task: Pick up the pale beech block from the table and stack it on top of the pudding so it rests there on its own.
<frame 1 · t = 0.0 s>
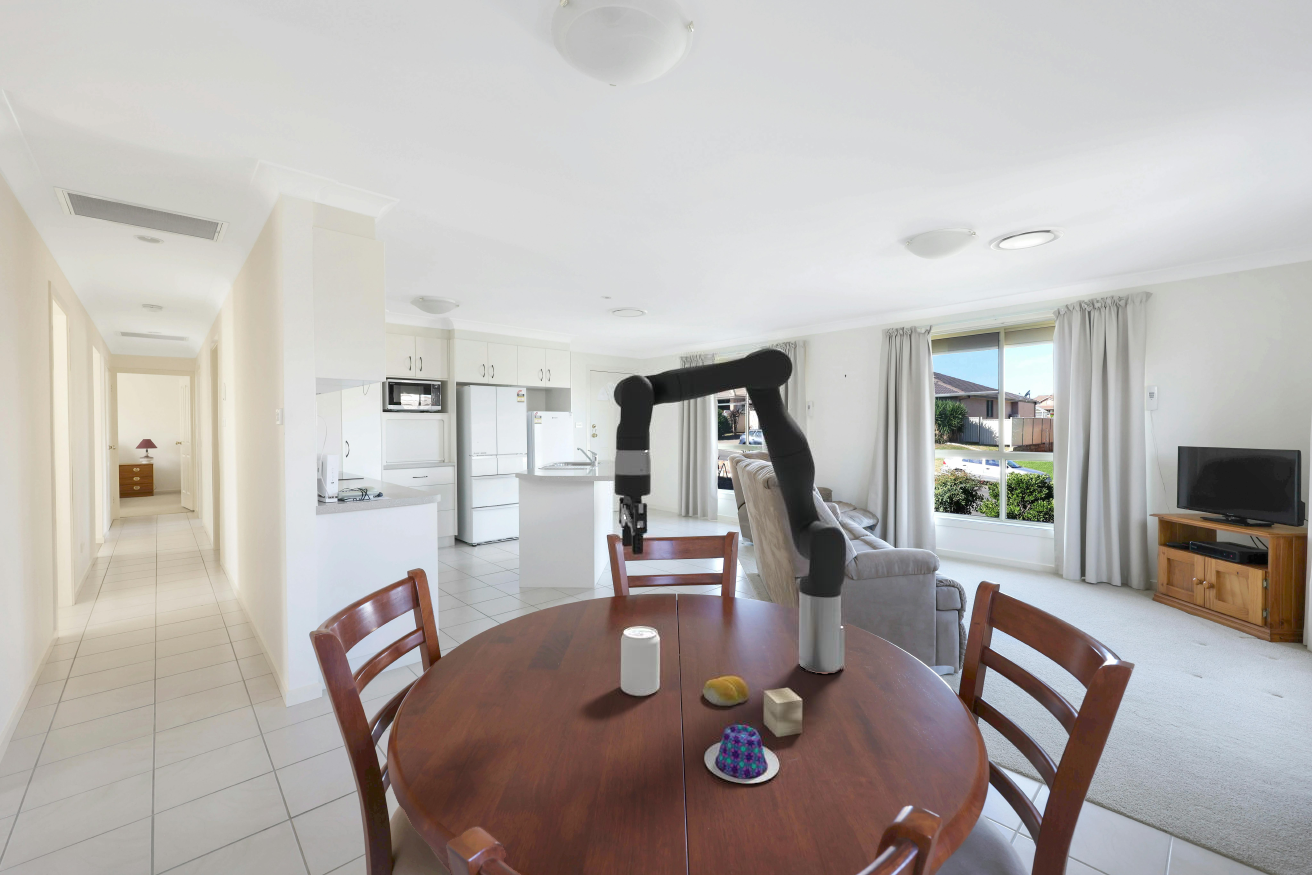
hand: (632, 549, 115), 29 cm above the table, tool pointing down, fingers open, 8 cm apart
bread roll: (725, 698, 113), on the table
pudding: (741, 765, 90), on the table
beech block: (782, 727, 101), on the table
beverage can: (640, 690, 116), on the table
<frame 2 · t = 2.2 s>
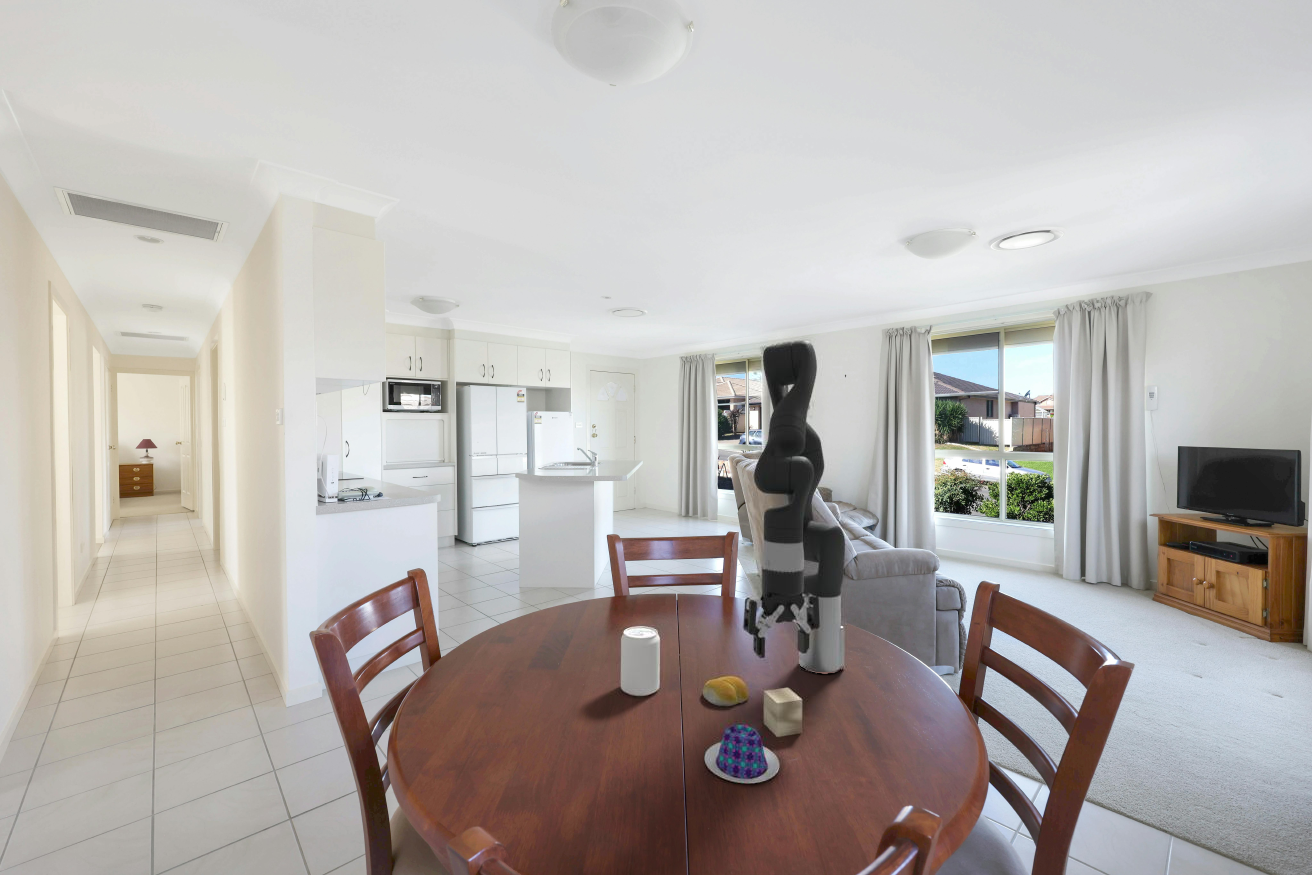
hand: (781, 654, 101), 13 cm above the table, tool pointing down, fingers open, 8 cm apart
nothing on the table moved.
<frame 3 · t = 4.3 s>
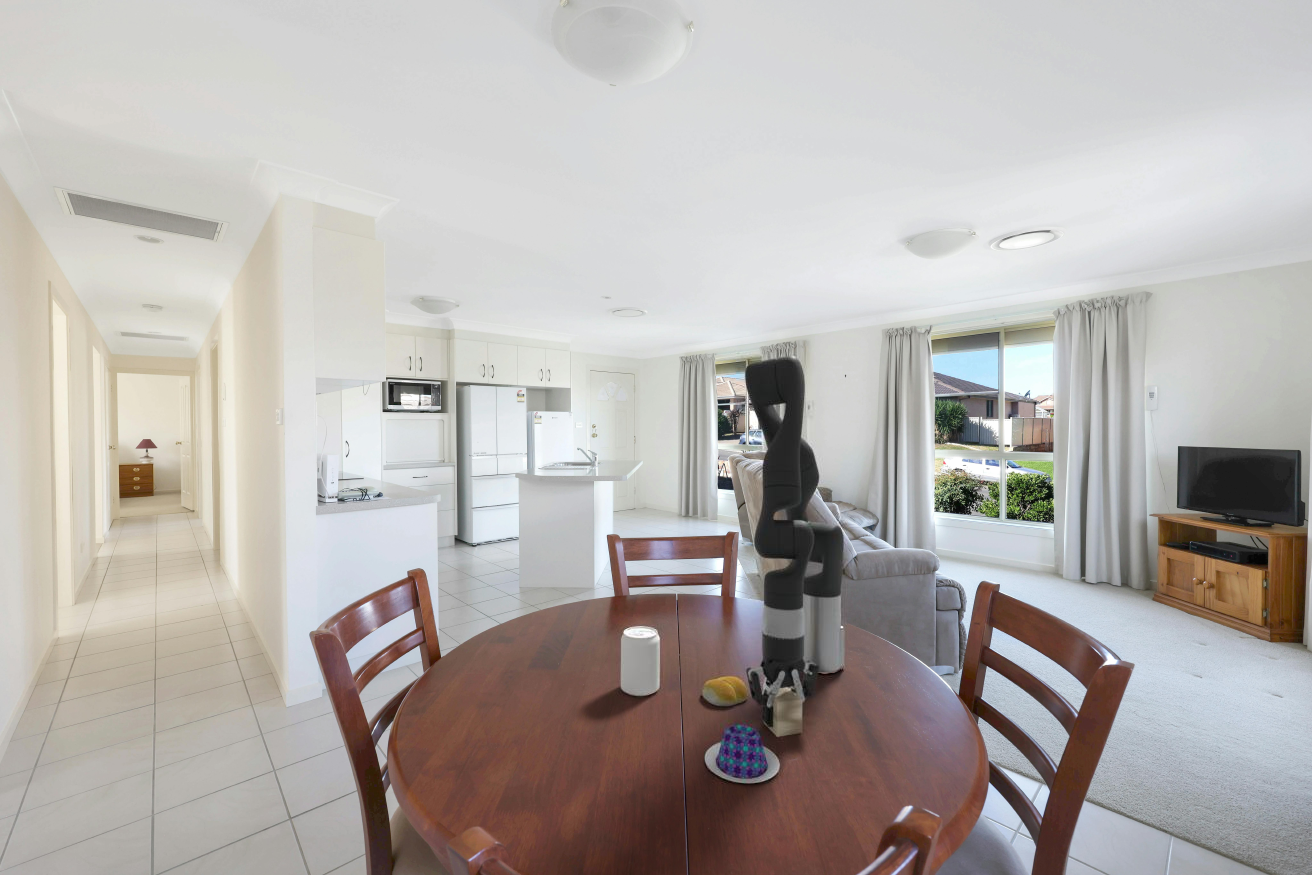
hand: (782, 722, 101), 1 cm above the table, tool pointing down, fingers closed on beech block, 5 cm apart
beech block: (782, 727, 101), on the table, touching gripper
everything else where it was.
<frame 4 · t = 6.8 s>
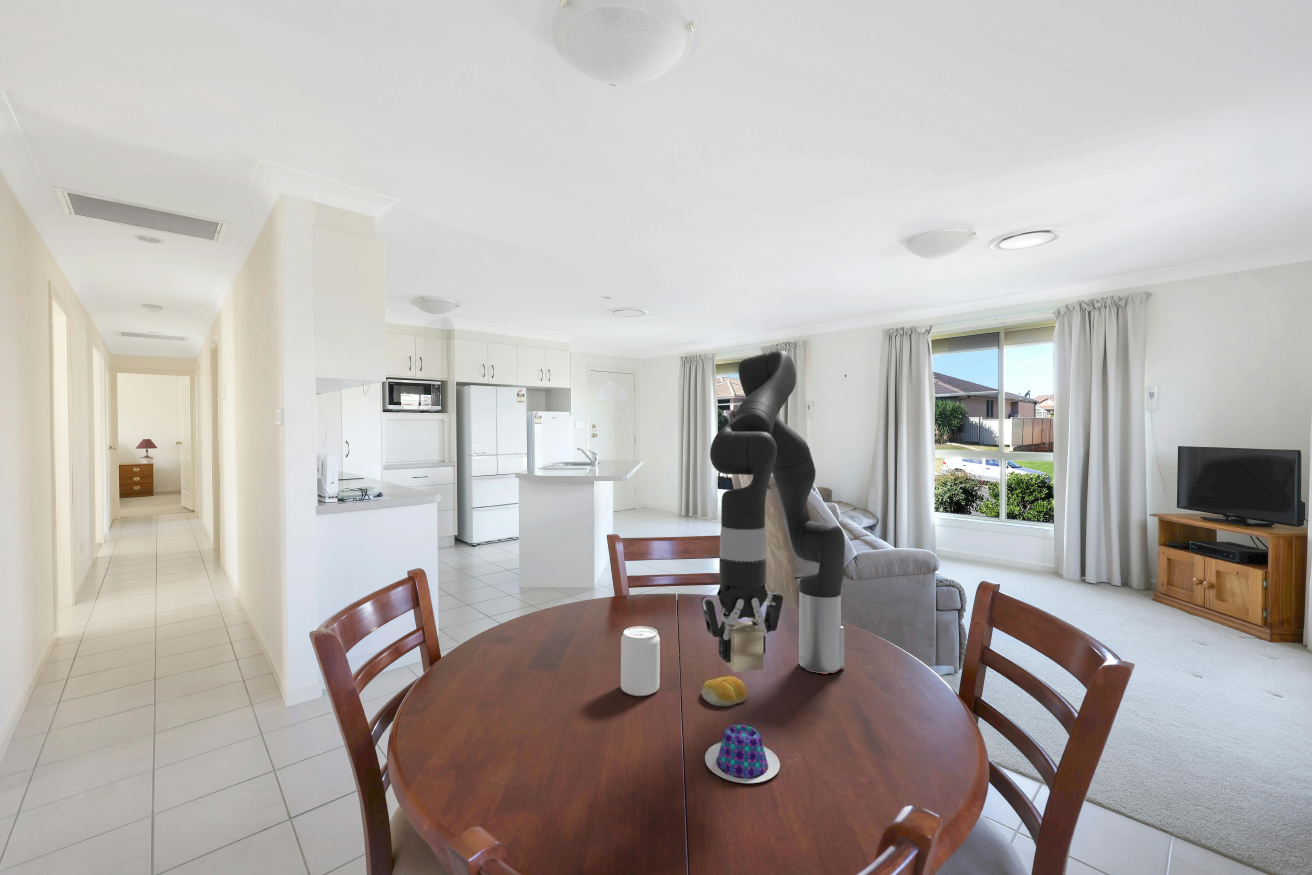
hand: (741, 658, 90), 17 cm above the table, tool pointing down, fingers closed on beech block, 5 cm apart
beech block: (742, 664, 90), point 16 cm above the table, touching gripper
everything else where it was.
when the fingers open (7 cm above the table, at t = 9.3 s): beech block drops 2 cm, resting on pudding.
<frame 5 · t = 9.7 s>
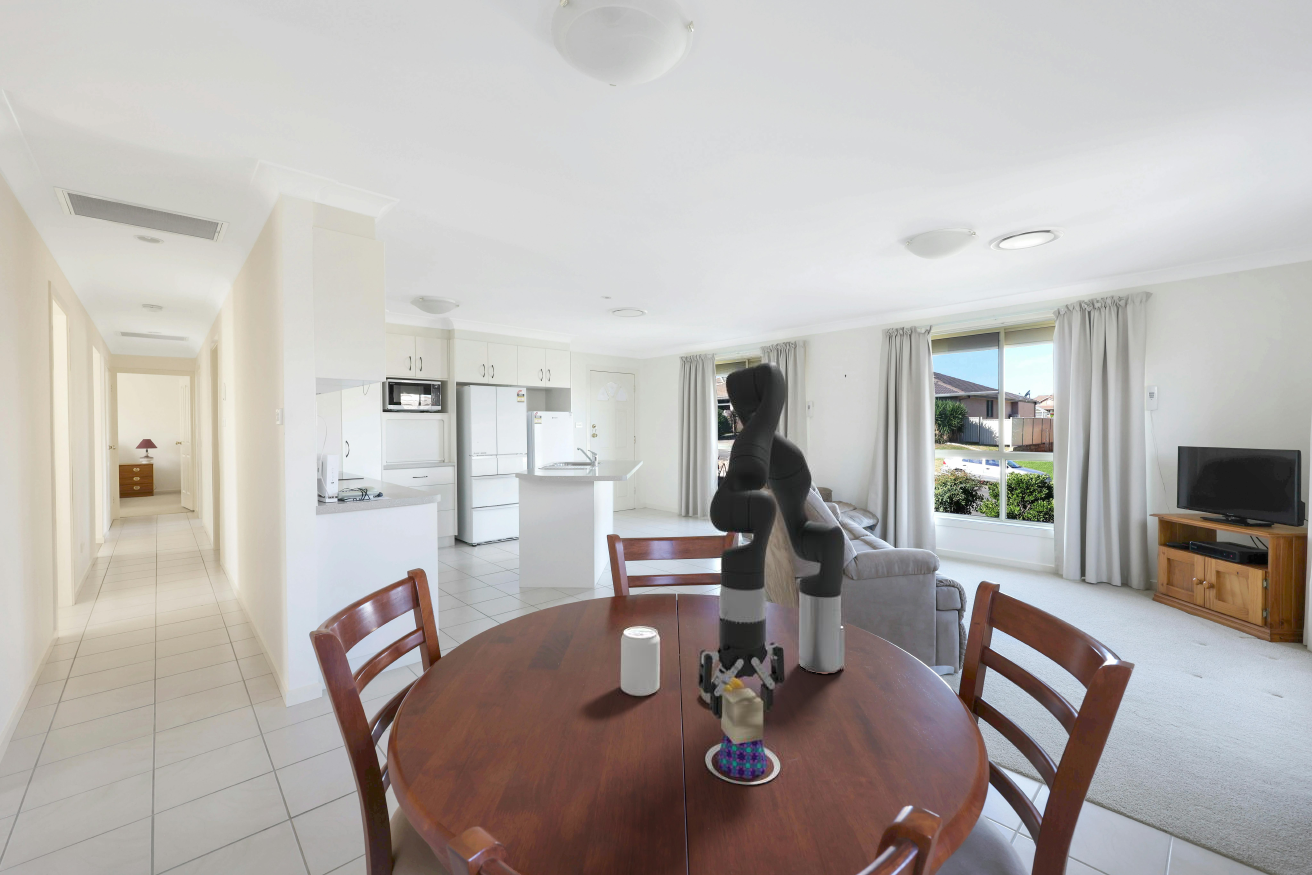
hand: (741, 712, 90), 8 cm above the table, tool pointing down, fingers open, 8 cm apart
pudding: (742, 767, 90), on the table, touching beech block
beech block: (741, 733, 90), point 5 cm above the table, touching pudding
everything else where it was.
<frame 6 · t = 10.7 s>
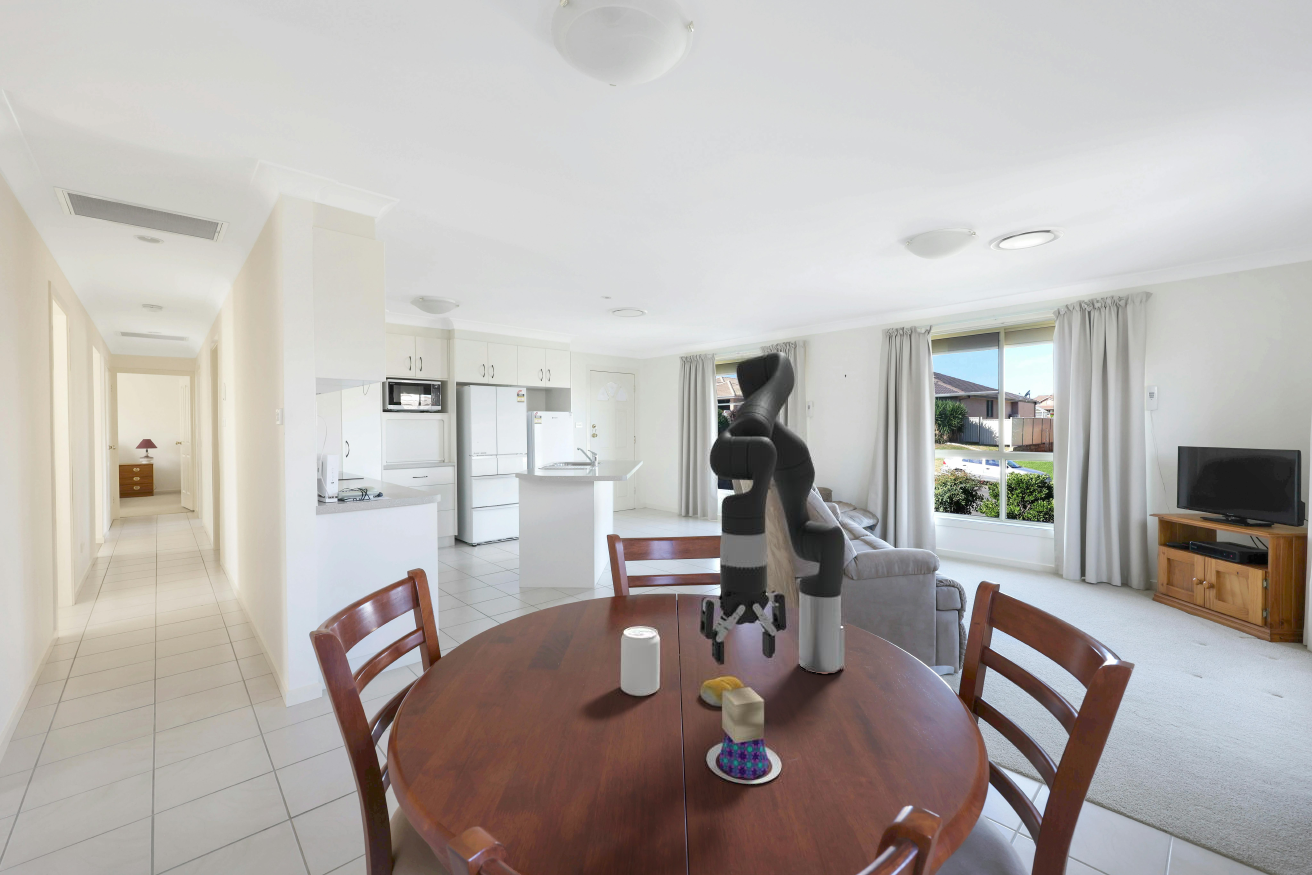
hand: (743, 659, 90), 17 cm above the table, tool pointing down, fingers open, 8 cm apart
nothing on the table moved.
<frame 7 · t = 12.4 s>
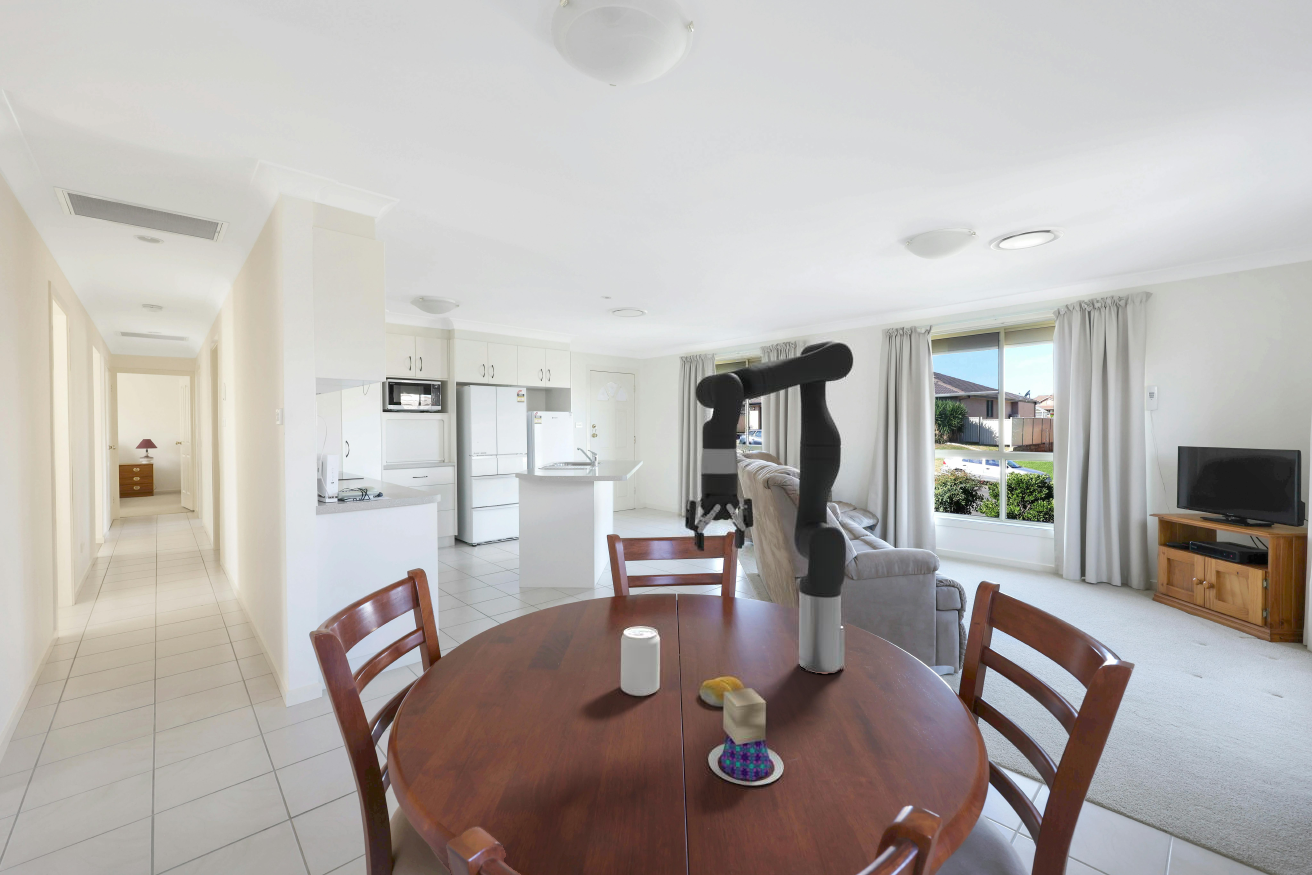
hand: (719, 549, 114), 30 cm above the table, tool pointing down, fingers open, 8 cm apart
nothing on the table moved.
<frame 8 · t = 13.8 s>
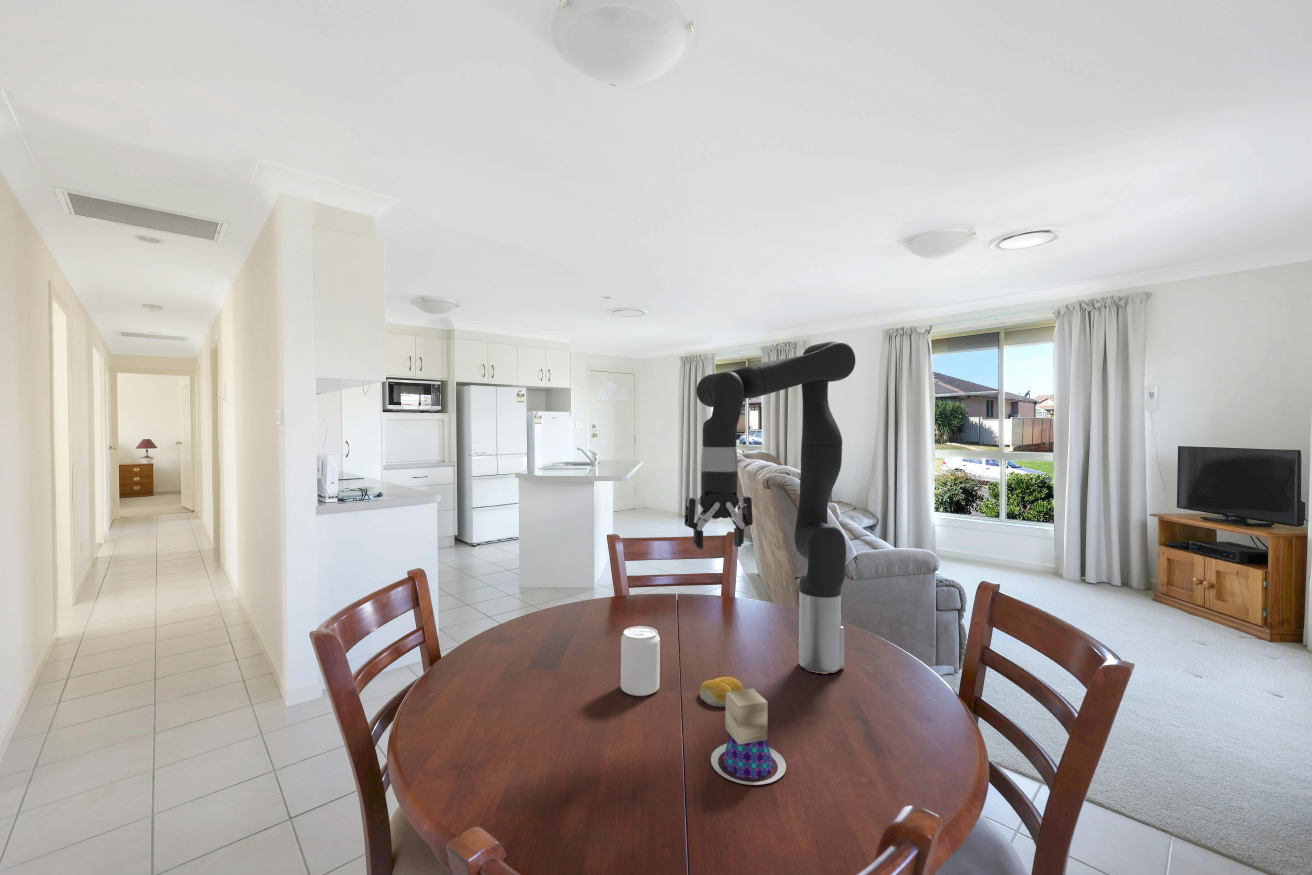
hand: (718, 547, 114), 30 cm above the table, tool pointing down, fingers open, 8 cm apart
nothing on the table moved.
at the end: beech block inside the target area on the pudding (0.3 cm from its centre), point 5.5 cm above the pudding's base; beech block tilted 0°; beech block touching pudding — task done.
